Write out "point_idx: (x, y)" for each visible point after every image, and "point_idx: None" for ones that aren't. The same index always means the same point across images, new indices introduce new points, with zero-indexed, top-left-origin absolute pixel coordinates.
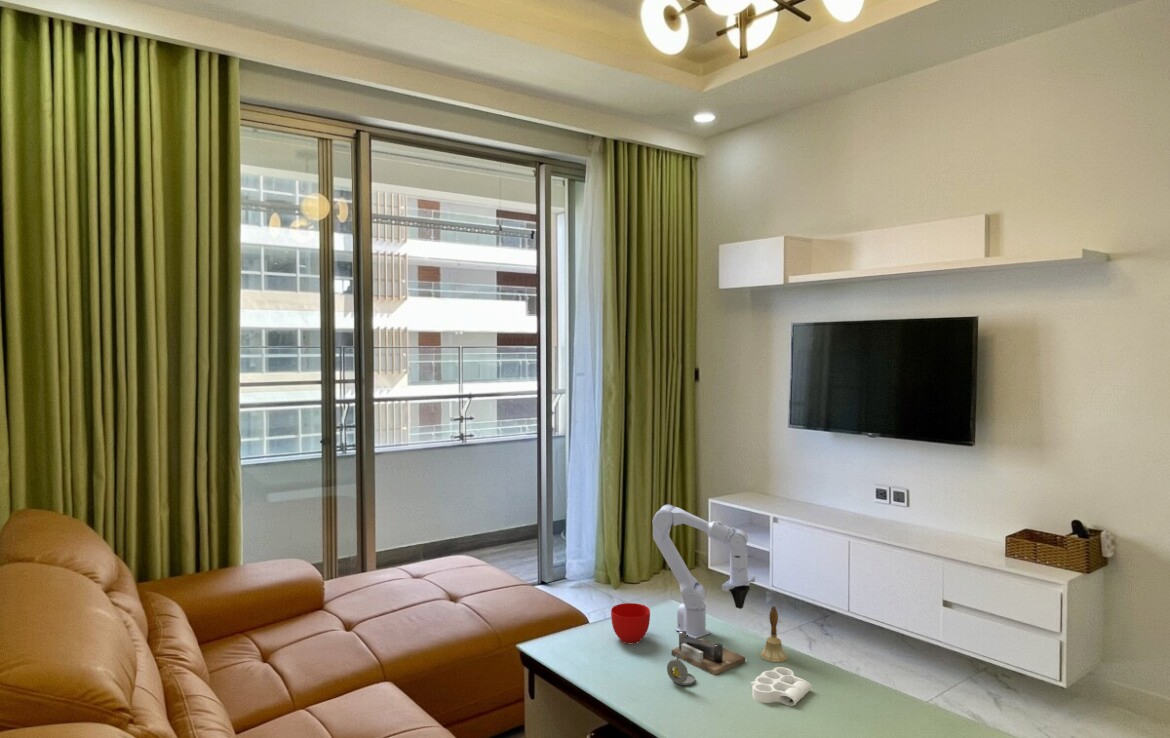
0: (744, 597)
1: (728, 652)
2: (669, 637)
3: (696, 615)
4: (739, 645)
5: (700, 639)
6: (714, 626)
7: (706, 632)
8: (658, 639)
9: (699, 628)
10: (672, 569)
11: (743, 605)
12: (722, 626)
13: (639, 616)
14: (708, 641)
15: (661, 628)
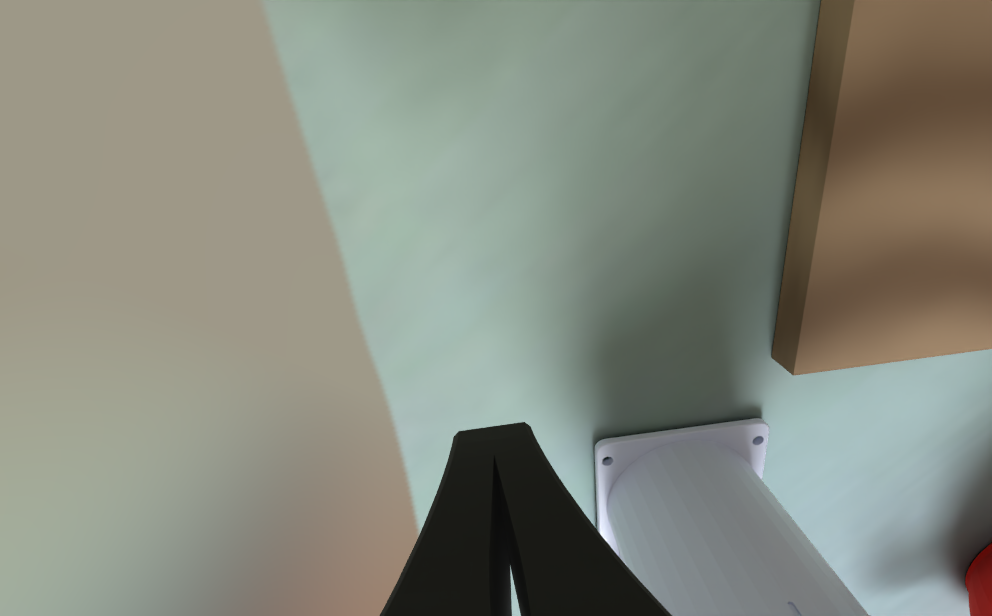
0: (442, 609)
1: (897, 17)
2: (849, 503)
3: (834, 583)
4: (581, 169)
5: (822, 363)
6: None
7: (636, 452)
8: (919, 509)
9: (737, 477)
10: None
11: (453, 455)
12: (437, 487)
13: None
14: (811, 306)
15: None
